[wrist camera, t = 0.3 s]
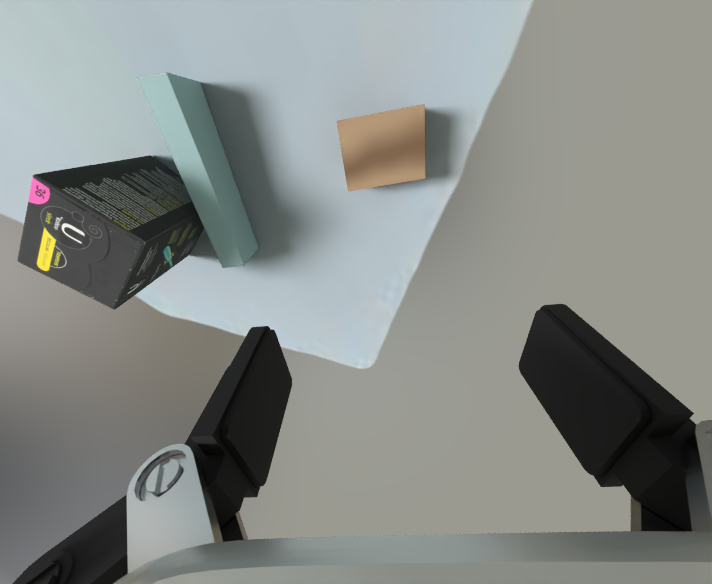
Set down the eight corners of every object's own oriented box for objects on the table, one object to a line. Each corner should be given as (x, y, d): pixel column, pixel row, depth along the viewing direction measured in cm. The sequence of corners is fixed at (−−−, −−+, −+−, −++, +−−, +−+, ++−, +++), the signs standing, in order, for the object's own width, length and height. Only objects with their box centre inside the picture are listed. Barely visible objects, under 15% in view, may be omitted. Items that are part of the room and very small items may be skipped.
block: (339, 121, 31) (336, 121, 27) (415, 107, 30) (424, 104, 26) (349, 183, 35) (348, 191, 30) (417, 172, 34) (425, 178, 29)
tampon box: (151, 153, 33) (25, 168, 20) (219, 202, 36) (146, 242, 24) (126, 217, 37) (10, 262, 25) (188, 256, 40) (113, 313, 28)
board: (175, 86, 29) (136, 77, 24) (200, 82, 29) (166, 72, 24) (240, 249, 40) (222, 267, 35) (258, 247, 39) (244, 265, 34)
